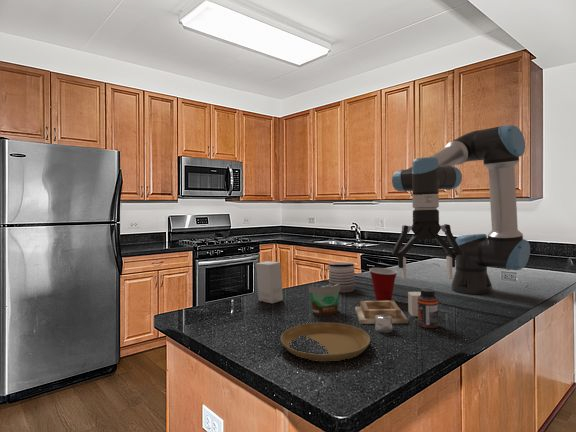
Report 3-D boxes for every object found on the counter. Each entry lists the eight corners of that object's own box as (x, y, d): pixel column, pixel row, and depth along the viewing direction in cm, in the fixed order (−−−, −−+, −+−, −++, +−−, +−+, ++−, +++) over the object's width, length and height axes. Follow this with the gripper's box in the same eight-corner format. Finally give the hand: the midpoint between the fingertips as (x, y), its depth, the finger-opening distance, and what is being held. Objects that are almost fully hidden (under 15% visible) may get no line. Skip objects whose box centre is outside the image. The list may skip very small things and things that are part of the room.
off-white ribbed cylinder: (326, 291, 164) (325, 264, 163) (333, 285, 174) (332, 259, 174) (352, 293, 159) (351, 265, 159) (357, 287, 170) (356, 260, 169)
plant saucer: (359, 330, 115) (359, 319, 115) (381, 365, 91) (381, 351, 91) (280, 334, 114) (280, 323, 114) (281, 370, 90) (281, 356, 90)
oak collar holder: (397, 309, 134) (397, 299, 134) (408, 323, 119) (407, 311, 119) (355, 310, 135) (354, 299, 135) (360, 323, 120) (359, 312, 120)
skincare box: (283, 300, 152) (281, 262, 151) (271, 304, 147) (270, 264, 146) (268, 297, 157) (267, 260, 157) (257, 301, 152) (255, 262, 152)
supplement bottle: (414, 323, 119) (413, 287, 118) (433, 322, 119) (432, 286, 119) (423, 329, 113) (422, 292, 112) (442, 328, 113) (441, 291, 113)
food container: (318, 318, 127) (317, 289, 126) (309, 314, 132) (308, 286, 132) (348, 312, 132) (347, 284, 132) (338, 308, 138) (337, 281, 137)
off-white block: (423, 311, 130) (422, 291, 130) (427, 316, 125) (427, 295, 125) (408, 311, 131) (408, 291, 130) (412, 316, 126) (411, 295, 125)
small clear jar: (390, 327, 116) (390, 314, 116) (393, 332, 112) (393, 319, 111) (374, 327, 117) (373, 314, 117) (376, 332, 112) (376, 319, 112)
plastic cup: (400, 304, 140) (399, 272, 140) (370, 303, 142) (369, 272, 142) (397, 296, 151) (396, 266, 150) (369, 296, 153) (369, 267, 152)
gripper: (386, 210, 112) (387, 281, 112) (473, 208, 110) (473, 280, 111) (381, 209, 119) (383, 276, 120) (463, 207, 117) (463, 275, 118)
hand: (426, 278), depth 115 cm, fingers open, 13 cm apart
